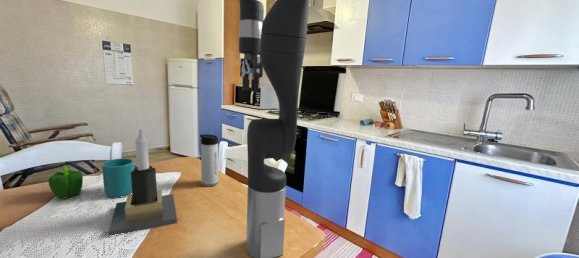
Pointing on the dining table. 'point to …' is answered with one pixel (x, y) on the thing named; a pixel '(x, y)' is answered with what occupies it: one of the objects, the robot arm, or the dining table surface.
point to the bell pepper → (66, 183)
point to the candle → (143, 174)
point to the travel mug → (209, 159)
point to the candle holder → (143, 214)
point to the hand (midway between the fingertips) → (250, 91)
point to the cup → (117, 177)
